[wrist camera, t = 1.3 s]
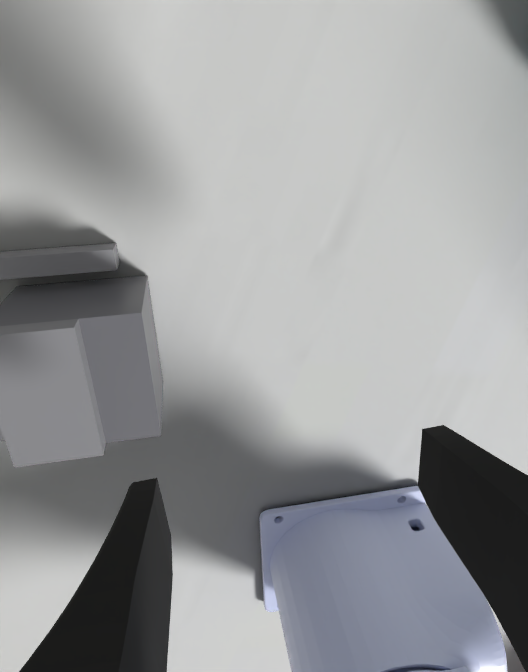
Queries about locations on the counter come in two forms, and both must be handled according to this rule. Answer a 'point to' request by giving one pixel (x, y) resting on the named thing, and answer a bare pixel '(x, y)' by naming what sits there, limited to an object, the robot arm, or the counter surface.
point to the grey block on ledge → (78, 369)
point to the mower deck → (57, 263)
